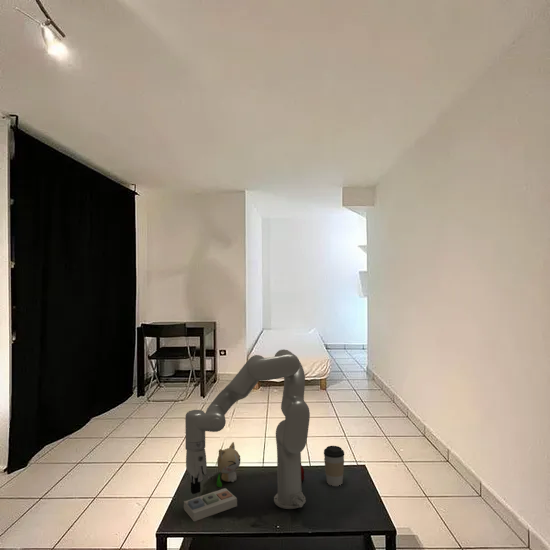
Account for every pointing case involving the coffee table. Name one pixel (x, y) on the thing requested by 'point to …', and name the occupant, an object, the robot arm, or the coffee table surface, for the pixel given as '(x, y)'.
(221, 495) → the terracotta key
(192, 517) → the keypad
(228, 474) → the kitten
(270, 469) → the coffee table surface
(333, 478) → the coffee cup
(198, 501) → the slate blue key
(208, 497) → the sage key
